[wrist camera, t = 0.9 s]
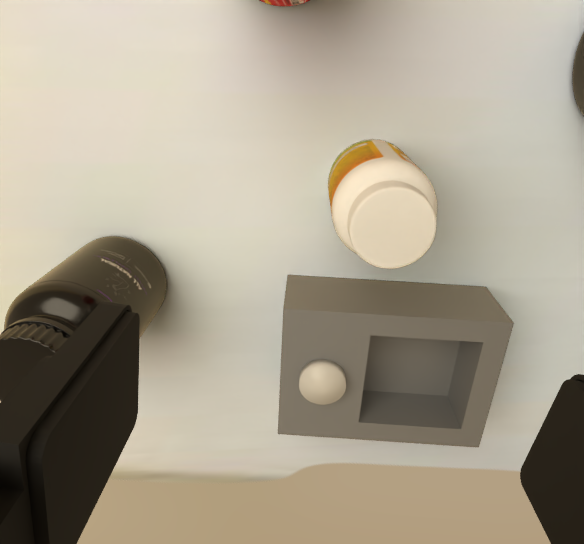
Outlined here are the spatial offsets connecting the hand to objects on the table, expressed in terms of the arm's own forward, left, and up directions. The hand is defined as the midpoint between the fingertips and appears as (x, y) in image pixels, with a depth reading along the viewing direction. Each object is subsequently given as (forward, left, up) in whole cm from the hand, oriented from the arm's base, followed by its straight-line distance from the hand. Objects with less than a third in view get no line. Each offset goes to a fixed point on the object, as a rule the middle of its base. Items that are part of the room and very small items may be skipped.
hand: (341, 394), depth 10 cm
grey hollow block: (-5, +12, -22) cm, 25 cm away
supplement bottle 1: (+14, +8, -22) cm, 27 cm away
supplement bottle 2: (-3, 0, -22) cm, 22 cm away
